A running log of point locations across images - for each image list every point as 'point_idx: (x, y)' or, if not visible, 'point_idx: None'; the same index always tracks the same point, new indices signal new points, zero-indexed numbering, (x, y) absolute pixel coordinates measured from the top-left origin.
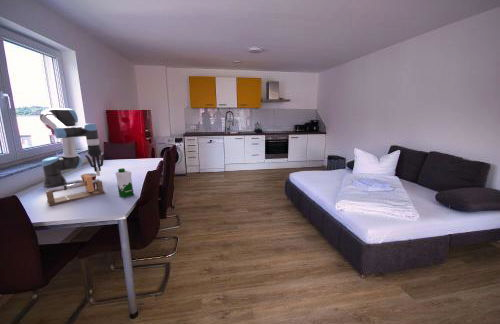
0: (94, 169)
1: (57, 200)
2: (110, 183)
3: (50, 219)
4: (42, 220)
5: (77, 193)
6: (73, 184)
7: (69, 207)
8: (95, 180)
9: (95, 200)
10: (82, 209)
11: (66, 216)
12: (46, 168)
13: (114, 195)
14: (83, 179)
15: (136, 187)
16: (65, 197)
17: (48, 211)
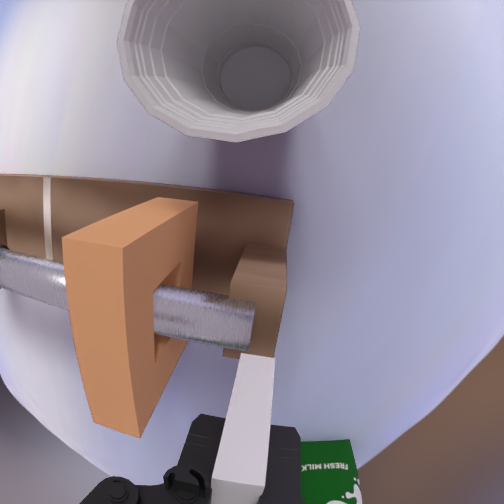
0: (183, 455)
1: (15, 245)
2: (444, 75)
3: (32, 408)
4: (15, 393)
5: (109, 191)
6: (25, 294)
7: (66, 371)
8: (210, 344)
9: (173, 399)
10: (109, 434)
11: (67, 432)
12: None
13: (284, 415)
14: (155, 68)
15: (454, 379)
16: (44, 223)
17: (10, 334)
